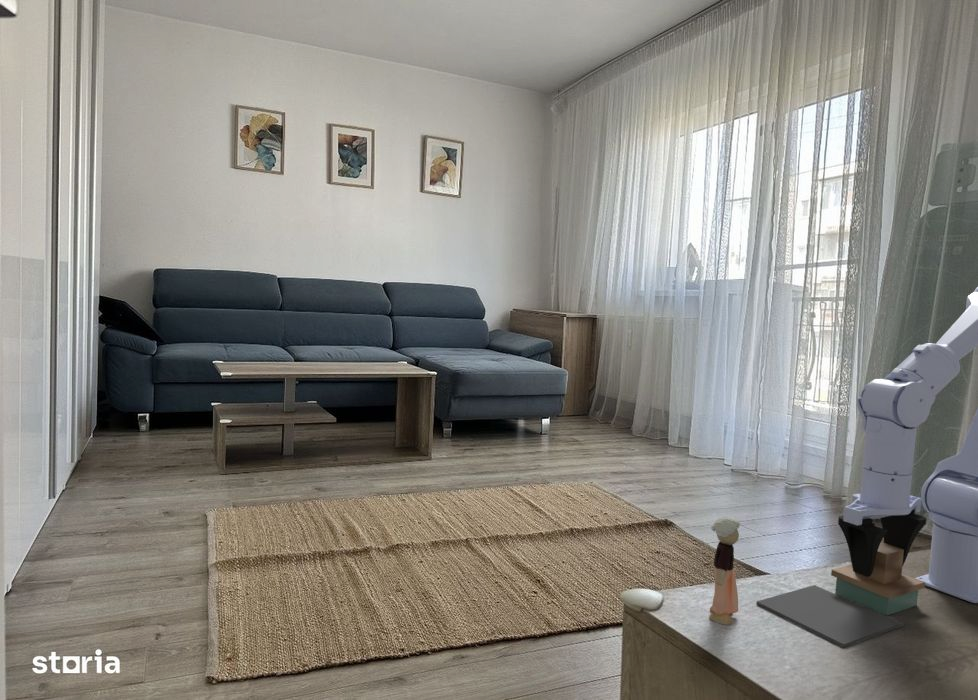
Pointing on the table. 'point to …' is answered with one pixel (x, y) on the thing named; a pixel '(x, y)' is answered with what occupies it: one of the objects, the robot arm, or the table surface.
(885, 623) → the mat
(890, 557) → the lid
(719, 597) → the grandmother figurine
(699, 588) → the table surface
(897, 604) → the green storage tray
